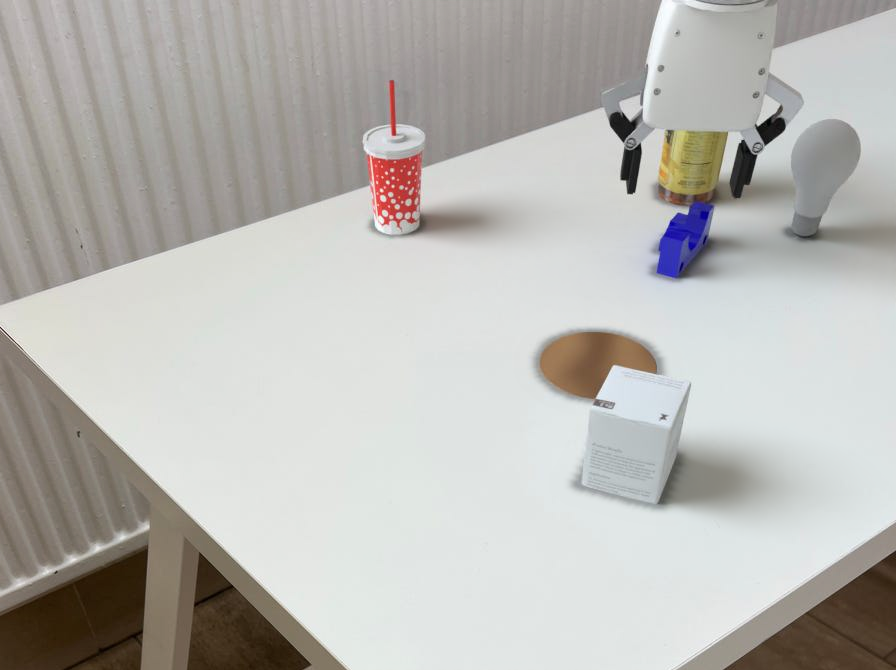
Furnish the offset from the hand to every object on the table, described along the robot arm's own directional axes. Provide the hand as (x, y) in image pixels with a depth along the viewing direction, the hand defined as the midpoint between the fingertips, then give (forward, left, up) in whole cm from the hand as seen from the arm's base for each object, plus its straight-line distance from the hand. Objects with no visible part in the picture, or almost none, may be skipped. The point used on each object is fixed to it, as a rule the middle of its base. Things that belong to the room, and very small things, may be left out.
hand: (682, 189), depth 90 cm
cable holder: (0, 0, -7) cm, 7 cm away
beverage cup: (+28, -5, -7) cm, 29 cm away
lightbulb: (-13, -5, -7) cm, 16 cm away
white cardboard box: (+6, +33, -7) cm, 34 cm away
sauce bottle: (-2, -13, -7) cm, 15 cm away
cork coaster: (+8, +19, -7) cm, 22 cm away
